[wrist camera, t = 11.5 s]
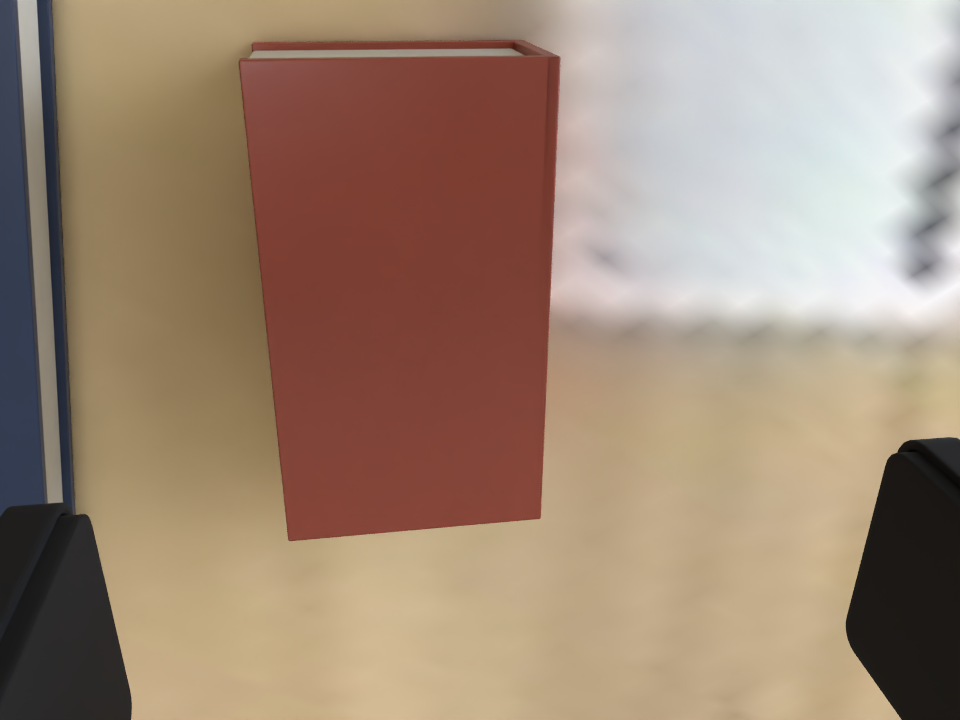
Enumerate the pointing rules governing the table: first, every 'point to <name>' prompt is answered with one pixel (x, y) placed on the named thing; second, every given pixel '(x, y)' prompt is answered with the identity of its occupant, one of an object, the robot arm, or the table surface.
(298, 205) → the pocket book
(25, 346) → the hardcover book
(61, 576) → the robot arm
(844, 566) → the table surface
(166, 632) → the table surface
